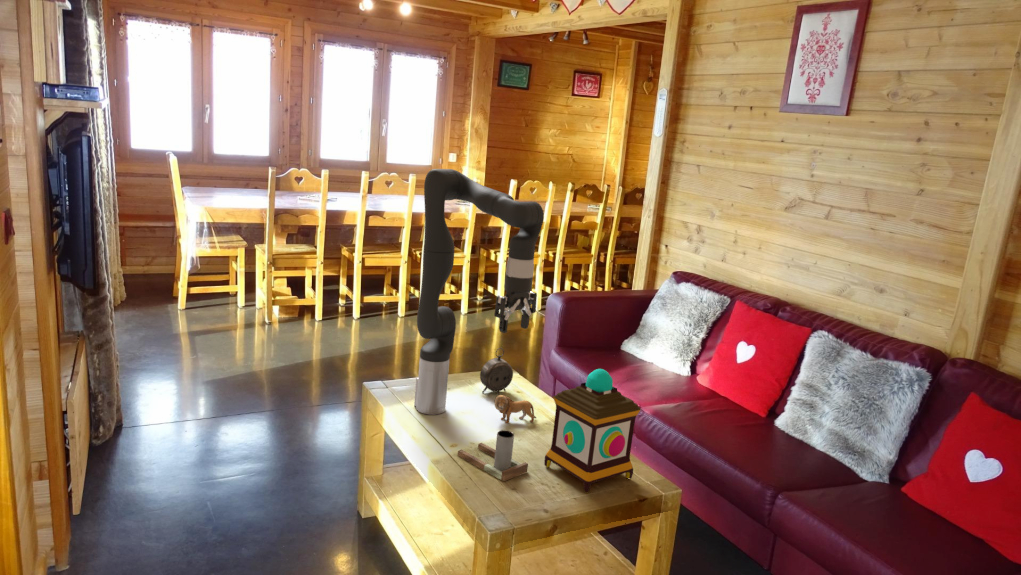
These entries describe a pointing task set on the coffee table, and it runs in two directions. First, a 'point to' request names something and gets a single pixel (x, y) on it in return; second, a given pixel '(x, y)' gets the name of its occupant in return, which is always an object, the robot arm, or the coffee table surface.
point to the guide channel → (504, 475)
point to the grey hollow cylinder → (503, 450)
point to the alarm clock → (496, 374)
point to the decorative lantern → (593, 430)
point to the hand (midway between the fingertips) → (513, 330)
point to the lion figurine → (513, 408)
